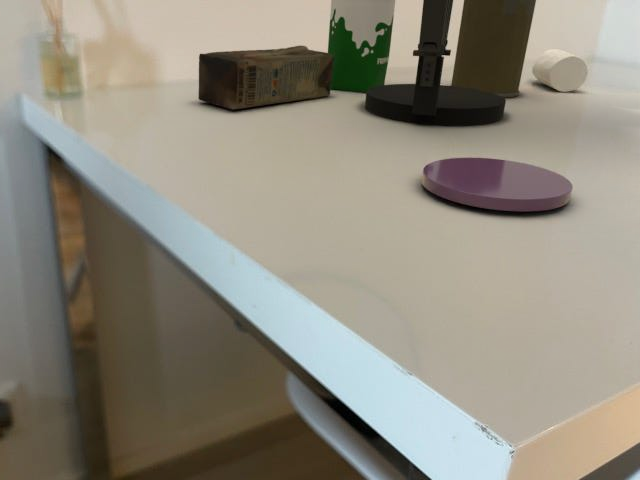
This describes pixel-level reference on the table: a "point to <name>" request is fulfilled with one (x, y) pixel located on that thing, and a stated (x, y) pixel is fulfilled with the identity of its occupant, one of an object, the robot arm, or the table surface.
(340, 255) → the table surface
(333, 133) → the table surface
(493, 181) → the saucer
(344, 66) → the milk carton
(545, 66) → the roll
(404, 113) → the wireless charger
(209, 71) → the beverage carton
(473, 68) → the canister
